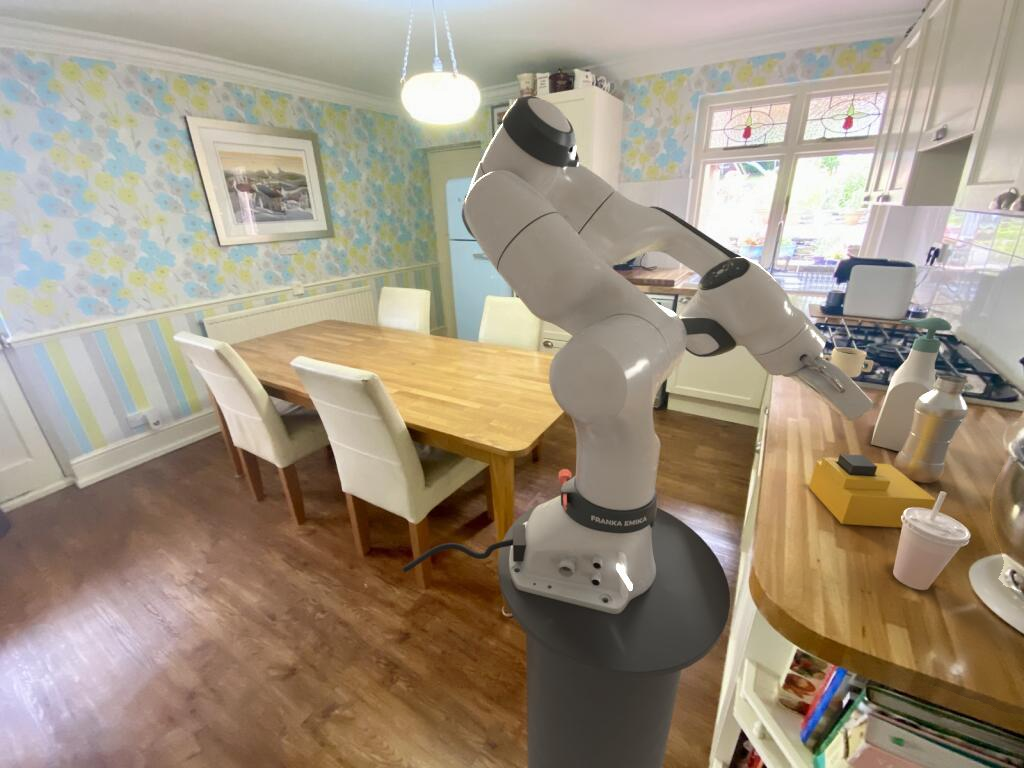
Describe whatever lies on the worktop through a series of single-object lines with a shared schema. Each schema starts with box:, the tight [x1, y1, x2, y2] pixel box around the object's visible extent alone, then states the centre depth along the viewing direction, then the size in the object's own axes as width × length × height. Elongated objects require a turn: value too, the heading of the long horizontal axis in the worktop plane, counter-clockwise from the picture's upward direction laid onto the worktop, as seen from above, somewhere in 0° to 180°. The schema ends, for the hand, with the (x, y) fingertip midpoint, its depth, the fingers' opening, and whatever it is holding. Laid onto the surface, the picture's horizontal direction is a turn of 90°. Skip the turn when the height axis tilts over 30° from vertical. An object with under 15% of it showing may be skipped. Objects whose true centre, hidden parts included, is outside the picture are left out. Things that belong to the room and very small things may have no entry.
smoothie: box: [892, 490, 971, 591], centre depth 55 cm, size 6×6×14 cm
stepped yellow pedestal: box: [808, 457, 937, 529], centre depth 70 cm, size 12×10×8 cm
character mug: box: [822, 346, 875, 382], centre depth 111 cm, size 11×7×13 cm, turn 57°
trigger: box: [837, 453, 877, 476], centre depth 69 cm, size 4×4×2 cm
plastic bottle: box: [893, 375, 969, 484], centre depth 75 cm, size 6×7×20 cm
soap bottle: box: [870, 316, 953, 453], centre depth 87 cm, size 11×8×27 cm
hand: (842, 408), depth 65 cm, fingers closed
